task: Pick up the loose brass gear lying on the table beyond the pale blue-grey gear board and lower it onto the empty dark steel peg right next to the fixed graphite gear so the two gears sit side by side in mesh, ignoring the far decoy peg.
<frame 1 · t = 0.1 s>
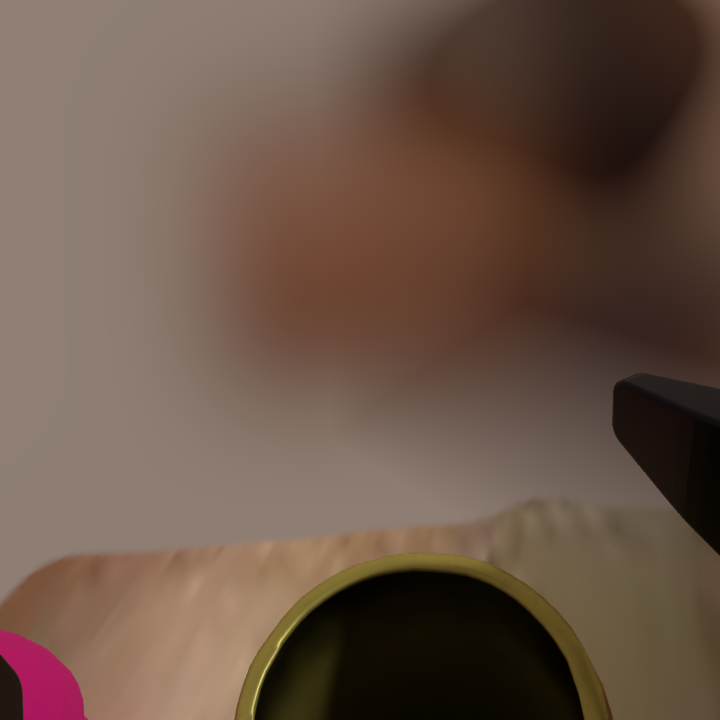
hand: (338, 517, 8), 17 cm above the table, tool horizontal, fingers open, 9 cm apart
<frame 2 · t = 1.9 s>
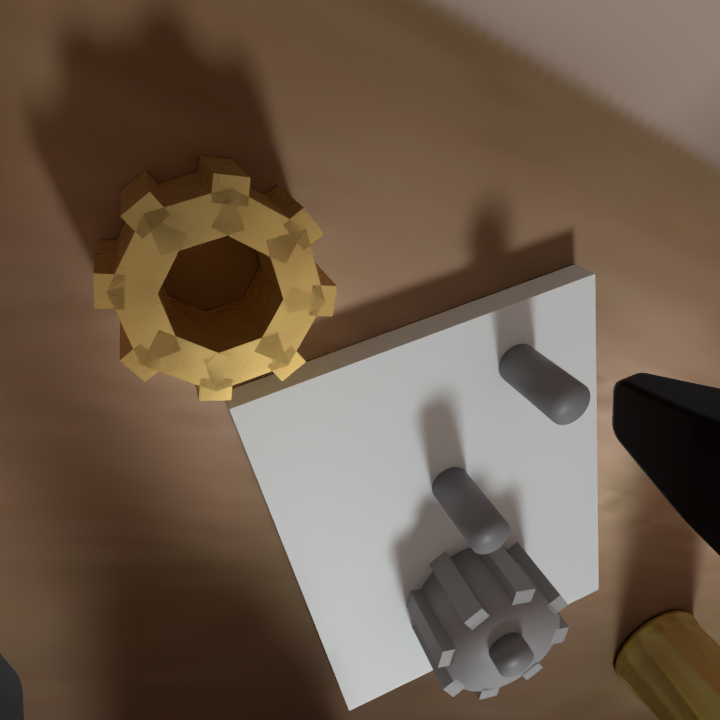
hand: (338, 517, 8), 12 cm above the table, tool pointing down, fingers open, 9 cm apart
gear board: (443, 502, 26), on the table
vase: (651, 641, 38), on the table
gear: (208, 261, 18), on the table
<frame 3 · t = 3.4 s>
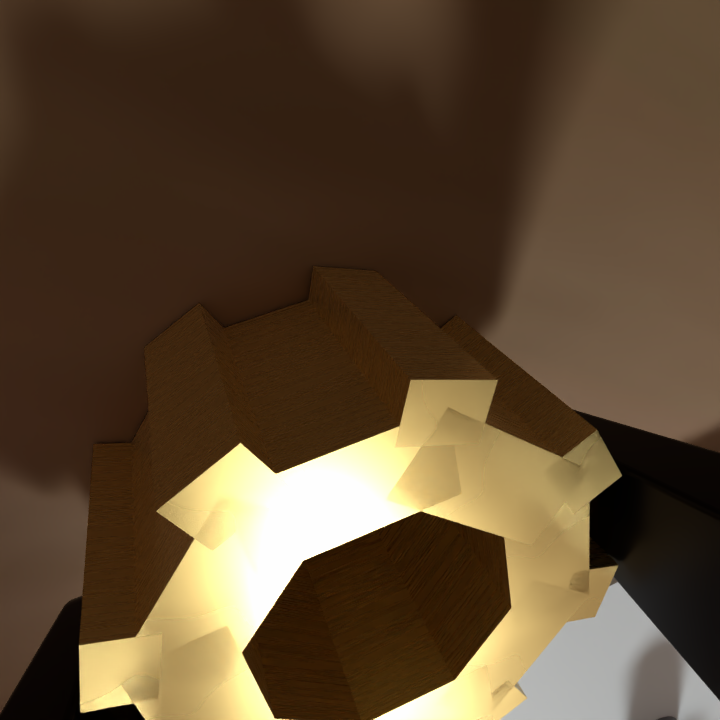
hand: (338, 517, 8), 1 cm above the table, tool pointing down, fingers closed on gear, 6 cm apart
gear: (312, 460, 9), on the table, touching gripper
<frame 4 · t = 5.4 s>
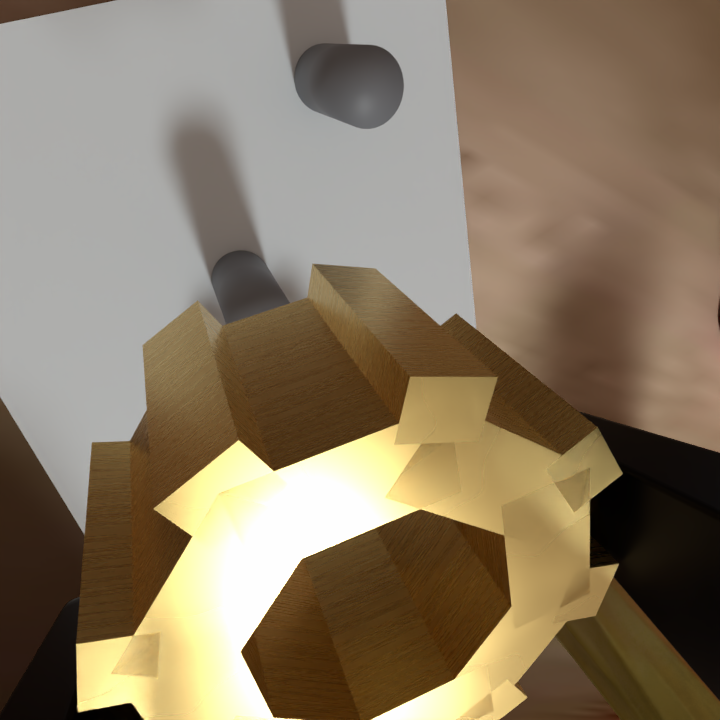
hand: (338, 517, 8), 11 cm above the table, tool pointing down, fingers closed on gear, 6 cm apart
gear board: (253, 326, 19), on the table
vase: (575, 569, 31), on the table
gear: (311, 459, 9), point 10 cm above the table, touching gripper
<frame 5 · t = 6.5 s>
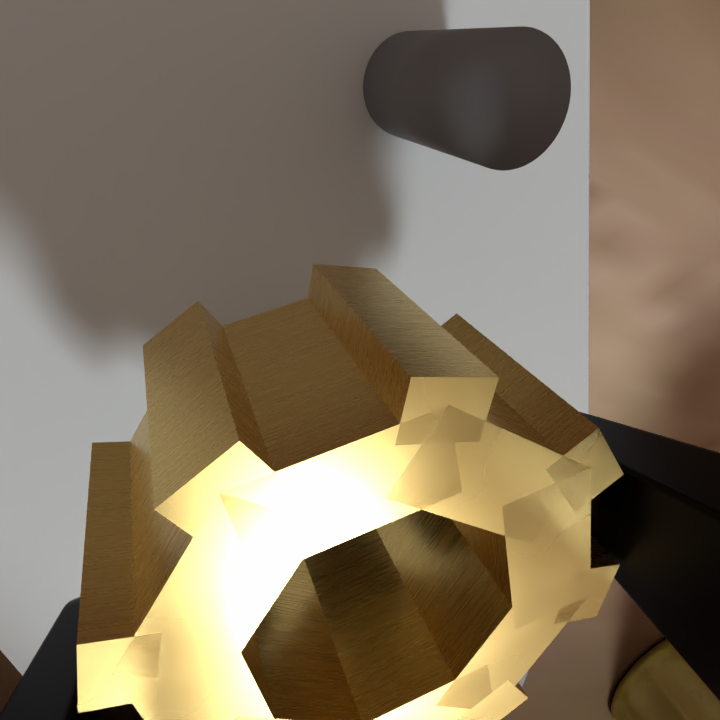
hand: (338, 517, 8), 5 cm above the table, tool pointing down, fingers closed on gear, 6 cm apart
gear board: (290, 427, 14), on the table
vase: (664, 670, 26), on the table
gear: (312, 459, 9), point 4 cm above the table, touching gripper
when the fingers open (4 cm above the table, at t = 7.2 s): gear drops 1 cm, resting on gear board.
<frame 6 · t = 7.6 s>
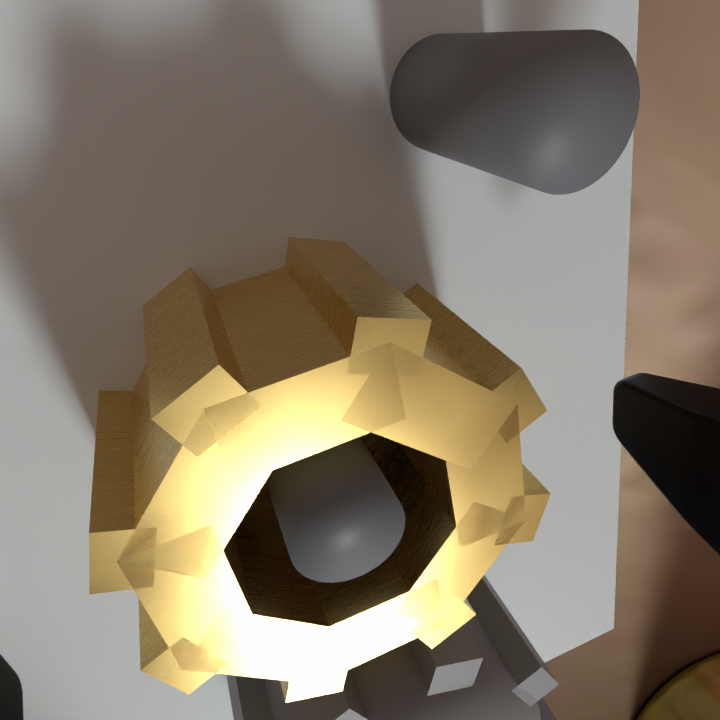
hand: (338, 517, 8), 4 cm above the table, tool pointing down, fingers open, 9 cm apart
gear board: (303, 461, 13), on the table
vase: (686, 696, 25), on the table
gear: (291, 412, 11), point 1 cm above the table, touching gear board
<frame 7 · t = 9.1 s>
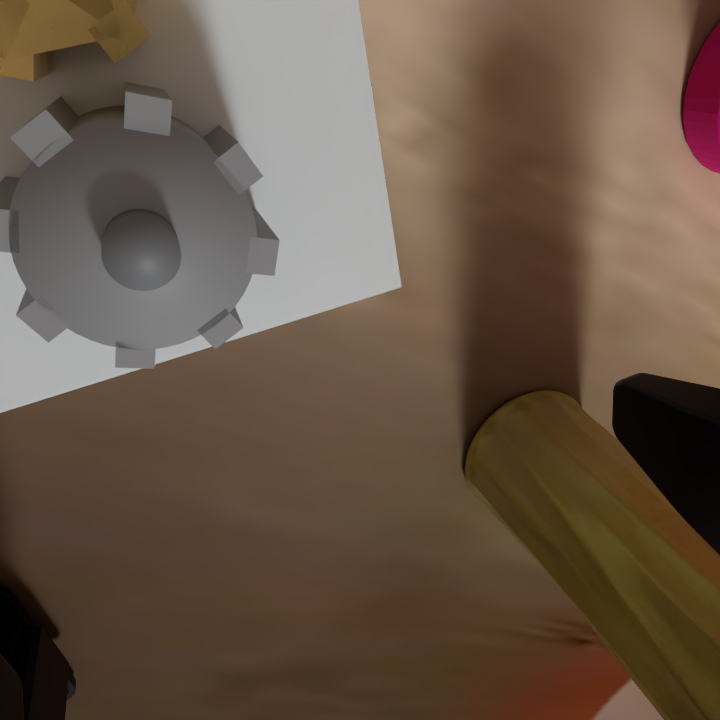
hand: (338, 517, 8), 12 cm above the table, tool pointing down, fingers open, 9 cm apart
gear board: (71, 21, 15), on the table
vase: (521, 444, 27), on the table
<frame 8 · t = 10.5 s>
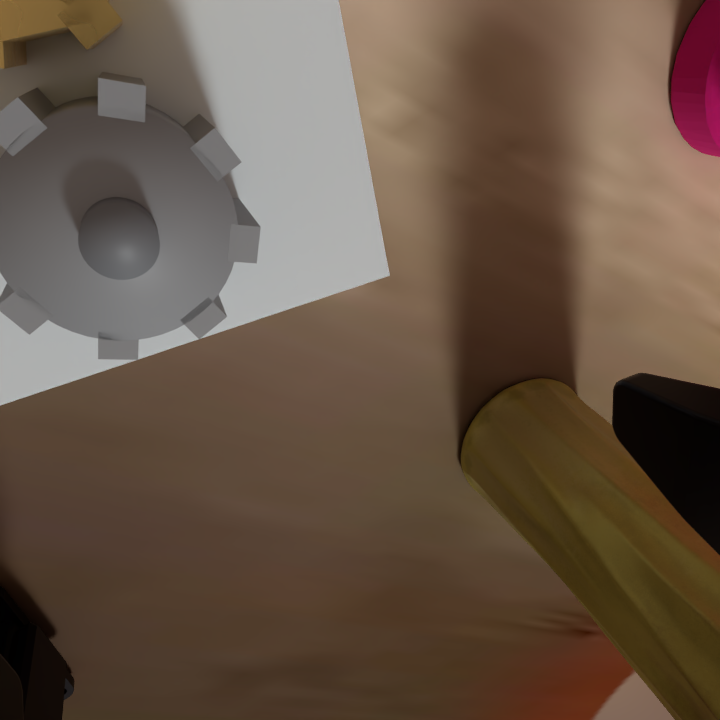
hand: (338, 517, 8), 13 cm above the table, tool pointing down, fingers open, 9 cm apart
gear board: (47, 12, 15), on the table
vase: (517, 434, 27), on the table
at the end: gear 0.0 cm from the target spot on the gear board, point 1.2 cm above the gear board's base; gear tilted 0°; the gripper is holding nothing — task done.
